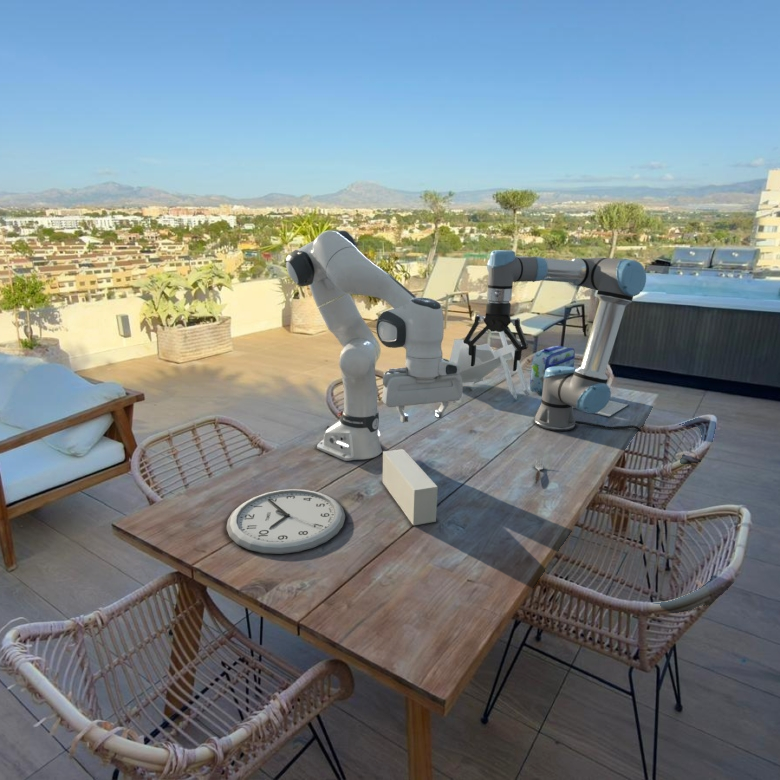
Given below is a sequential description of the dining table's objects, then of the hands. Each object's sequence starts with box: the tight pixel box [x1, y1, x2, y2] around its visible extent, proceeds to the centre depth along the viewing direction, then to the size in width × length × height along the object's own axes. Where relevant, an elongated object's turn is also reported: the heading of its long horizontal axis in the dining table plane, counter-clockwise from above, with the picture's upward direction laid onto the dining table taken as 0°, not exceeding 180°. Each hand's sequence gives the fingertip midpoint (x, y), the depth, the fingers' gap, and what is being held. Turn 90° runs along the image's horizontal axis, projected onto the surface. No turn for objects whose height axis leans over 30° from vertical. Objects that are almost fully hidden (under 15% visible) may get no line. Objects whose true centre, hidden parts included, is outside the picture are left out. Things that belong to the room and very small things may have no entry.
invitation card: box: [575, 399, 629, 418], centre depth 226 cm, size 21×1×15 cm
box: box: [382, 448, 439, 526], centre depth 144 cm, size 25×6×10 cm, turn 19°
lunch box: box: [529, 345, 576, 394], centre depth 244 cm, size 26×11×21 cm, turn 135°
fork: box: [534, 457, 545, 484], centre depth 163 cm, size 3×16×2 cm, turn 160°
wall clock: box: [226, 488, 346, 555], centre depth 135 cm, size 30×2×30 cm
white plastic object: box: [449, 331, 531, 400], centre depth 245 cm, size 37×45×31 cm
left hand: (421, 419), depth 131 cm, fingers open, 8 cm apart
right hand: (493, 367), depth 169 cm, fingers open, 13 cm apart
